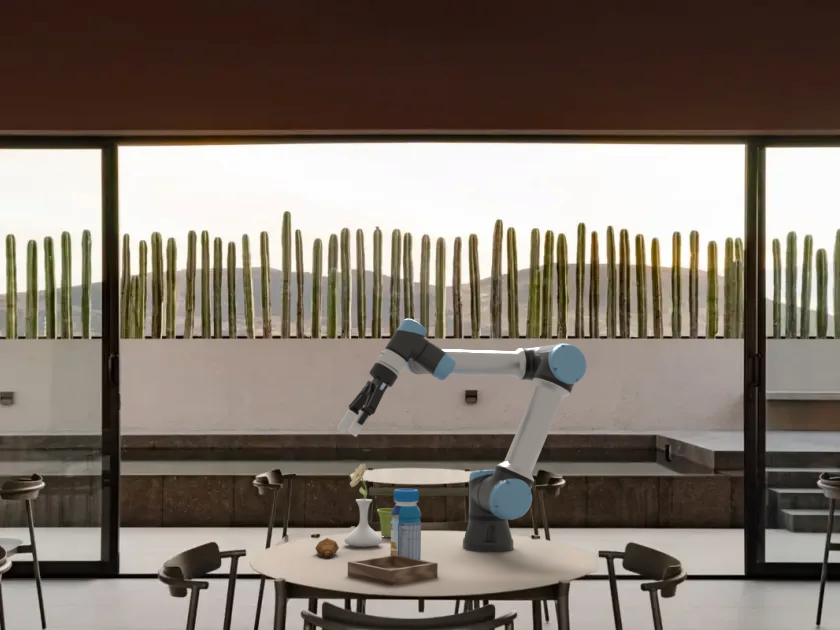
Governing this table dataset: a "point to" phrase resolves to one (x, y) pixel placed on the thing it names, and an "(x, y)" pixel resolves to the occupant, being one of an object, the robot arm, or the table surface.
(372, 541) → the flower in vase
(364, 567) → the walnut tray
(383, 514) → the plant pot
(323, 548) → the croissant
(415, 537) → the beverage bottle
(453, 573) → the table surface
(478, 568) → the table surface
